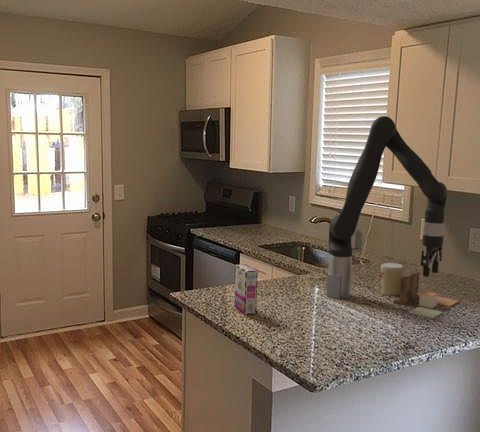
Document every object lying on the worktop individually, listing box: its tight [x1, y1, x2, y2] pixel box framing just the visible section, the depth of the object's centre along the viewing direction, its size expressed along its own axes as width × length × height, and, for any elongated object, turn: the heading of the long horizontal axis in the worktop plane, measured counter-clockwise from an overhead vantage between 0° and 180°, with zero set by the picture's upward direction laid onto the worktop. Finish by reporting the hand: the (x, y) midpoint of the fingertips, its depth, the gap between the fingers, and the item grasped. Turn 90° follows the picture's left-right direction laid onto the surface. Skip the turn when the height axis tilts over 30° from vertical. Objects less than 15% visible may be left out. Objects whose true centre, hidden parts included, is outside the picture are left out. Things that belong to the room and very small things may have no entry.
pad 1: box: [408, 306, 443, 319], centre depth 196 cm, size 9×9×1 cm
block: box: [418, 290, 438, 309], centre depth 205 cm, size 5×5×5 cm
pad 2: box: [437, 295, 460, 308], centre depth 210 cm, size 9×9×1 cm
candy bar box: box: [233, 264, 259, 316], centre depth 193 cm, size 11×5×16 cm, turn 21°
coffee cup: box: [380, 262, 404, 296], centre depth 221 cm, size 9×9×12 cm
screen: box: [392, 270, 420, 306], centre depth 211 cm, size 14×4×11 cm, turn 137°
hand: (430, 274), depth 204 cm, fingers open, 8 cm apart
